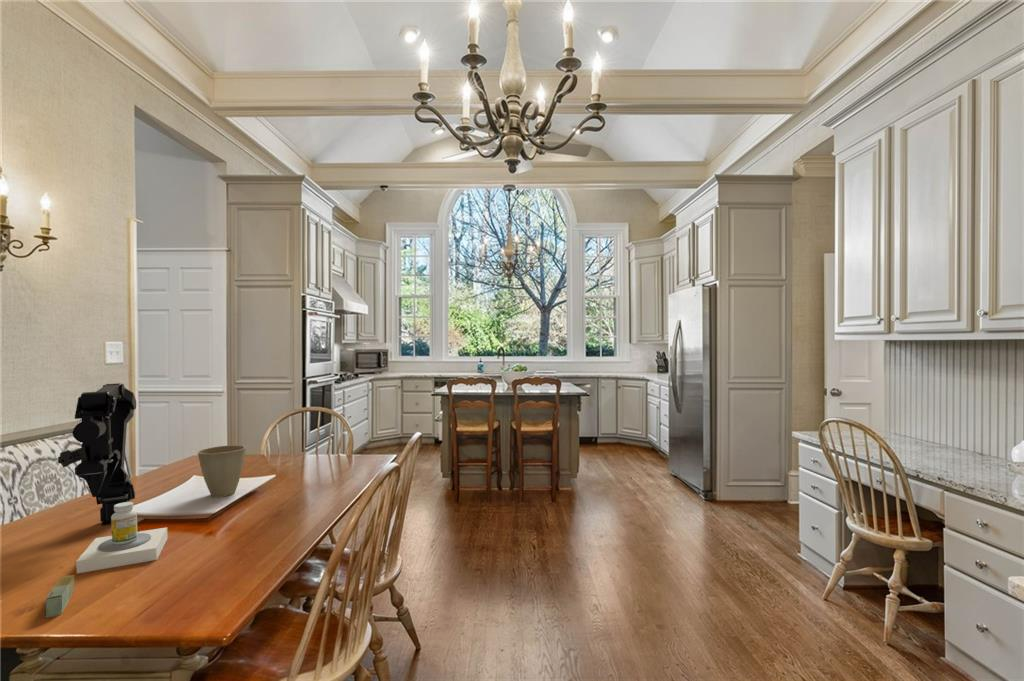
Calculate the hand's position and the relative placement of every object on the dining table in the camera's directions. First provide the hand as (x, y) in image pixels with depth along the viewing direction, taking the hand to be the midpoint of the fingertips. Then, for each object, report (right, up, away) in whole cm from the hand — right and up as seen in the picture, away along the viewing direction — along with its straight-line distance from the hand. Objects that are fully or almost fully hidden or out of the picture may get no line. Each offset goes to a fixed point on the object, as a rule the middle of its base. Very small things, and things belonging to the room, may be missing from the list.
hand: (100, 492), depth 148 cm
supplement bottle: (+15, -10, -11) cm, 21 cm away
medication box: (+20, -14, -36) cm, 44 cm away
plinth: (+15, -13, -11) cm, 23 cm away
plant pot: (+13, -12, +40) cm, 44 cm away
